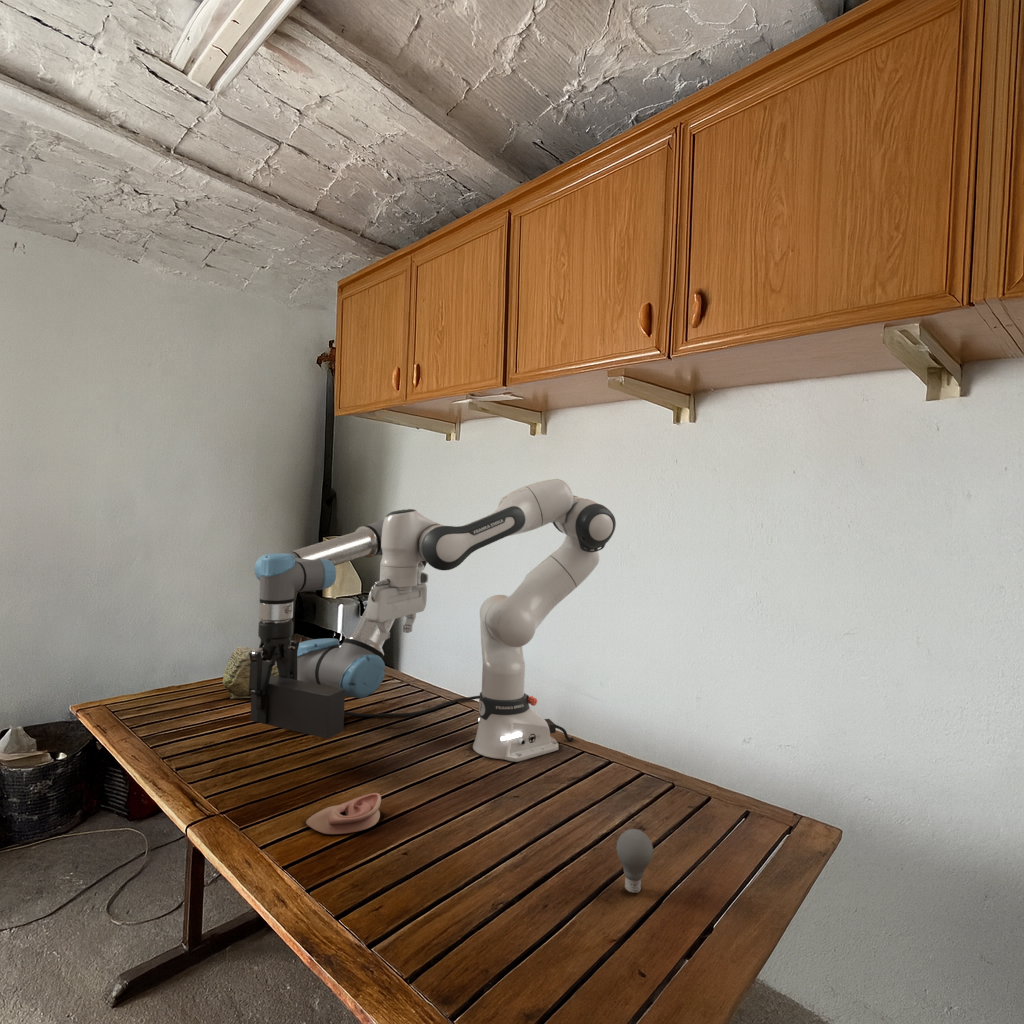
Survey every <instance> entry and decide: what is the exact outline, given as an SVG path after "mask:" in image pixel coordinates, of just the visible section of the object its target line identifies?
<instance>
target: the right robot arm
mask: <svg viewBox="0 0 1024 1024" xmlns="http://www.w3.org/2000/svg"><path fill="white" fill-rule="evenodd" d="M383 520H384V522H383V528H382V538H381V549H382V555H381V560H380V563H379V580H377V581H374V583H373V585H372V586H371V588H370V591H369V594H368V597H367V603H366V607H367V612H366V618H367V620H368V621H369V622H374V623H377V626H378V629H379V631H380V639H381V640H385V641H387V640H390V638H391V631H388V629H387V625H388V621H389V620H393V619H395V620H396V619H399V618H403V617H404V618H405V622H404V624H403V625H402V632H403V633H406V634H408V633H412V632H413V625H414V623H415V621H416V617H417V614H418V613H421V612H424V611H425V609H426V606H427V601H428V599H427V598H428V586H427V583H428V582H429V574H428V573H426V572H424V571H420V570H418V563H419V561H426V562H427V564H428V565H429V566H430V567H432V568H434V569H435V570H438V571H451V570H454V569H456V568H458V567H459V566H460V565H461V564H462V563H463V562H464V561H465V560H466V559H467V558H468V557H470V555H472V554H473V553H474V552H476V551H477V550H479V549H482V548H484V547H486V546H489V545H491V544H493V543H495V542H497V541H499V540H502V539H504V538H506V537H510V536H515V535H520V534H524V533H528V532H531V531H534V530H537V529H539V528H542V527H544V526H546V525H548V524H551V523H552V525H553V526H554V527H555V529H556V530H557V531H558V532H560V533H562V534H564V535H565V537H564V540H563V542H562V544H561V545H560V546H559V548H557V549H556V550H555V551H553V552H552V553H551V554H549V555H548V556H547V557H545V558H544V559H543V560H542V561H541V562H539V564H537V565H536V566H535V567H534V568H533V569H531V570H530V571H529V572H527V574H526V575H525V577H524V579H523V580H522V582H521V583H520V584H519V586H518V587H517V588H516V589H515V590H514V591H513V592H512V594H510V595H506V594H495V595H492V596H489V597H487V598H486V599H485V600H483V602H482V604H481V606H480V608H479V620H480V621H479V623H480V624H479V625H480V627H479V629H480V646H481V659H482V661H481V662H482V668H481V669H482V670H481V671H482V672H481V692H479V696H480V698H479V701H478V715H479V718H478V724H477V729H476V734H475V737H474V738H475V739H474V741H473V744H472V749H473V751H474V752H476V753H477V754H479V755H481V756H483V757H487V758H491V759H497V760H505V761H508V762H513V763H518V762H522V761H526V760H529V759H532V758H536V757H540V756H543V755H546V754H550V753H553V752H557V751H559V748H560V747H559V746H560V745H559V742H558V741H557V740H556V739H555V738H554V737H553V736H551V734H556V731H557V730H556V729H558V730H560V731H561V732H562V733H563V735H564V738H565V739H566V740H567V741H568V742H573V741H574V737H573V736H572V737H569V736H568V732H567V730H566V729H565V728H564V727H562V726H560V725H558V724H556V723H554V721H552V719H550V718H543V717H542V716H541V715H540V714H539V713H537V712H536V711H535V710H534V709H532V708H531V707H530V705H531V706H532V707H533V706H536V705H537V704H538V699H537V698H536V697H534V696H533V695H529V694H527V693H525V682H526V681H525V679H526V662H525V658H524V651H523V647H524V646H526V645H527V644H529V643H530V641H532V639H533V638H534V636H535V634H536V631H537V629H538V627H540V625H541V624H542V623H543V621H544V620H545V619H546V618H547V617H548V615H549V614H550V613H551V611H552V610H553V609H554V608H556V607H557V605H558V604H560V603H561V602H562V601H563V600H564V599H565V598H566V597H568V596H569V595H571V593H572V592H573V591H575V590H576V589H577V588H578V587H579V586H580V585H581V584H582V583H584V581H586V579H588V578H589V576H590V575H591V574H592V573H593V572H594V570H595V569H596V568H597V566H598V565H599V563H600V553H599V551H602V550H603V549H604V548H605V547H606V544H607V543H608V542H609V541H610V540H611V538H612V537H613V535H614V533H615V530H616V527H617V522H616V518H615V515H614V513H613V512H612V511H611V510H610V509H609V508H608V507H607V506H606V505H604V504H601V503H598V502H596V501H594V500H591V499H588V498H583V497H579V496H577V495H573V491H572V488H571V487H570V486H569V484H568V483H567V482H565V480H562V479H561V478H560V479H559V478H553V479H547V480H542V481H538V482H534V483H531V484H528V485H525V486H523V487H520V488H518V489H515V490H513V491H511V492H509V493H508V494H506V495H504V496H503V497H502V498H501V499H500V501H499V502H498V505H497V508H496V510H495V511H493V512H492V513H490V514H487V515H486V516H484V517H481V518H478V519H476V520H474V521H471V522H469V523H466V524H464V525H458V526H456V525H455V526H454V525H445V524H444V525H443V524H440V523H438V522H436V521H434V520H432V519H429V518H428V517H426V516H424V515H423V514H421V513H420V512H418V510H416V509H413V508H408V509H398V510H394V511H390V512H389V513H387V515H386V516H385V517H384V519H383Z"/></svg>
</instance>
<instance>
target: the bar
mask: <svg viewBox="0 0 1024 1024" xmlns="http://www.w3.org/2000/svg"><path fill="white" fill-rule="evenodd" d="M261 690H262V689H261ZM266 694H268V695H269V715H268V723H267V724H266V725H268V726H271V727H274V728H275V727H276V728H280V729H284V730H288V731H292V732H296V733H300V734H305V735H309V736H314V737H318V738H322V739H326V740H328V739H330V738H332V737H334V736H336V735H338V734H341V733H342V732H344V727H345V715H344V712H345V699H346V696H345V689H340V688H335V687H330V686H325V685H320V684H315V683H309V682H304V681H299V680H294V679H289V678H284V677H279V676H274V675H271V676H270V680H269V684H268V689H267V693H266ZM250 721H251V722H253V723H258V724H259V723H260V722H257V709H256V695H254V694H251V698H250ZM260 724H261V723H260ZM262 724H264V723H262ZM264 725H265V724H264Z"/></svg>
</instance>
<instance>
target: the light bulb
mask: <svg viewBox="0 0 1024 1024" xmlns="http://www.w3.org/2000/svg"><path fill="white" fill-rule="evenodd" d="M615 849H616V854H617V857H618V859H619V861H620V863H621V865H622V867H623V873H624V874H623V875H624V876H625V878H624V888H625V890H627V891H628V892H630V893H634V894H635V893H639V892H640V891H641V889H642V887H641V886H642V879H643V877H644V875H645V871H646V868H647V867H648V866H649V864H650V863H651V861H652V859H653V855H654V847H653V843H652V841H651V838H649V836H648V835H647V834H646V833H645V832H643V831H642V830H641V829H636V828H629V829H627V830H625V831H623V832H622V833H621V834H620V835H619V837H618V839H617V841H616V847H615Z"/></svg>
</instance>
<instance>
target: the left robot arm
mask: <svg viewBox="0 0 1024 1024" xmlns="http://www.w3.org/2000/svg"><path fill="white" fill-rule="evenodd" d="M383 522H384V519H382V520H378V521H375V522H372V523H368V524H365V525H362V526H359V527H357V529H355V531H353V532H350V533H347V534H343V535H340V536H337V537H334V538H331V539H327V540H324V541H320V542H318V543H314V544H311V545H308V546H303V547H301V548H298V549H294V550H291V551H287V552H284V553H281V552H280V553H279V552H278V553H275V552H274V553H266V554H263V555H261V556H260V557H259V558H258V559H257V560H256V562H255V564H254V568H253V569H254V570H253V571H254V576H255V577H256V579H257V580H258V581H259V603H258V619H259V620H260V621H259V622H258V629H257V630H258V631H257V633H258V634H257V635H258V637H259V639H260V643H259V646H258V649H257V648H256V649H257V650H255V651H250V652H249V657H250V677H249V693H250V694H254V695H256V709H257V722H256V723H259V722H260V724H263V723H264V725H267V723H268V715H269V695H268V694H266V693H267V689H268V684H269V680H270V676H271V672H272V667H273V666H274V665H276V668H278V673H279V677H284V678H289V679H294V680H299V681H304V682H309V683H315V684H320V685H325V686H330V687H335V688H340V689H345V697H347V698H355V699H365V698H367V697H369V696H372V695H373V694H374V693H375V692H376V691H377V690H378V689H379V688H380V686H381V685H382V683H383V681H384V679H385V674H386V671H385V669H386V665H385V661H384V660H383V659H384V656H385V653H384V649H383V646H384V644H385V642H386V640H381V639H380V631H379V629H378V626H377V623H374V622H369V621H368V620H367V618H366V612H367V606H366V607H365V609H364V611H363V613H362V615H361V617H360V618H359V619H360V620H359V622H358V624H357V626H356V627H355V630H354V632H353V634H351V635H349V636H346V637H345V638H344V639H343V641H342V643H340V641H339V639H338V638H335V637H334V638H331V637H329V638H315V639H308V640H304V641H301V642H299V641H297V640H291V637H292V635H293V632H294V631H293V630H294V621H293V620H292V618H293V617H294V602H295V601H294V600H295V593H301V592H310V591H311V592H312V591H321V590H326V589H329V588H330V587H332V586H333V585H334V584H335V582H336V579H337V568H336V566H339V565H341V564H344V563H348V562H350V561H353V560H357V559H360V558H362V557H364V558H367V559H369V558H372V557H377V556H382V549H381V538H382V528H383ZM427 564H428V563H427V562H426V561H419V563H418V570H420V571H421V572H424V570H425V568H426V565H427ZM395 620H396V619H393V620H389V621H388V625H387V629H388V631H389V632H391V631H390V630H391V628H392V627H393V624H394V623H395ZM266 660H268V661H266ZM269 661H270V662H269ZM261 689H262V690H261ZM479 698H480V695H474V696H468V697H467V696H466V697H459V698H455V699H452V700H447V701H446V702H442V703H440V704H437V705H435V706H431V707H429V708H426V709H421V710H417V711H411V712H401V713H396V712H394V713H390V712H389V713H358V712H352V711H344V716H349V717H356V718H392V717H393V718H399V717H400V718H402V717H404V718H405V717H412V716H418V715H423V714H426V713H429V712H433V711H436V710H438V709H441V708H443V707H445V706H448V705H449V706H450V705H452V704H456V703H459V702H465V701H472V700H473V701H474V700H478V699H479Z"/></svg>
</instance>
